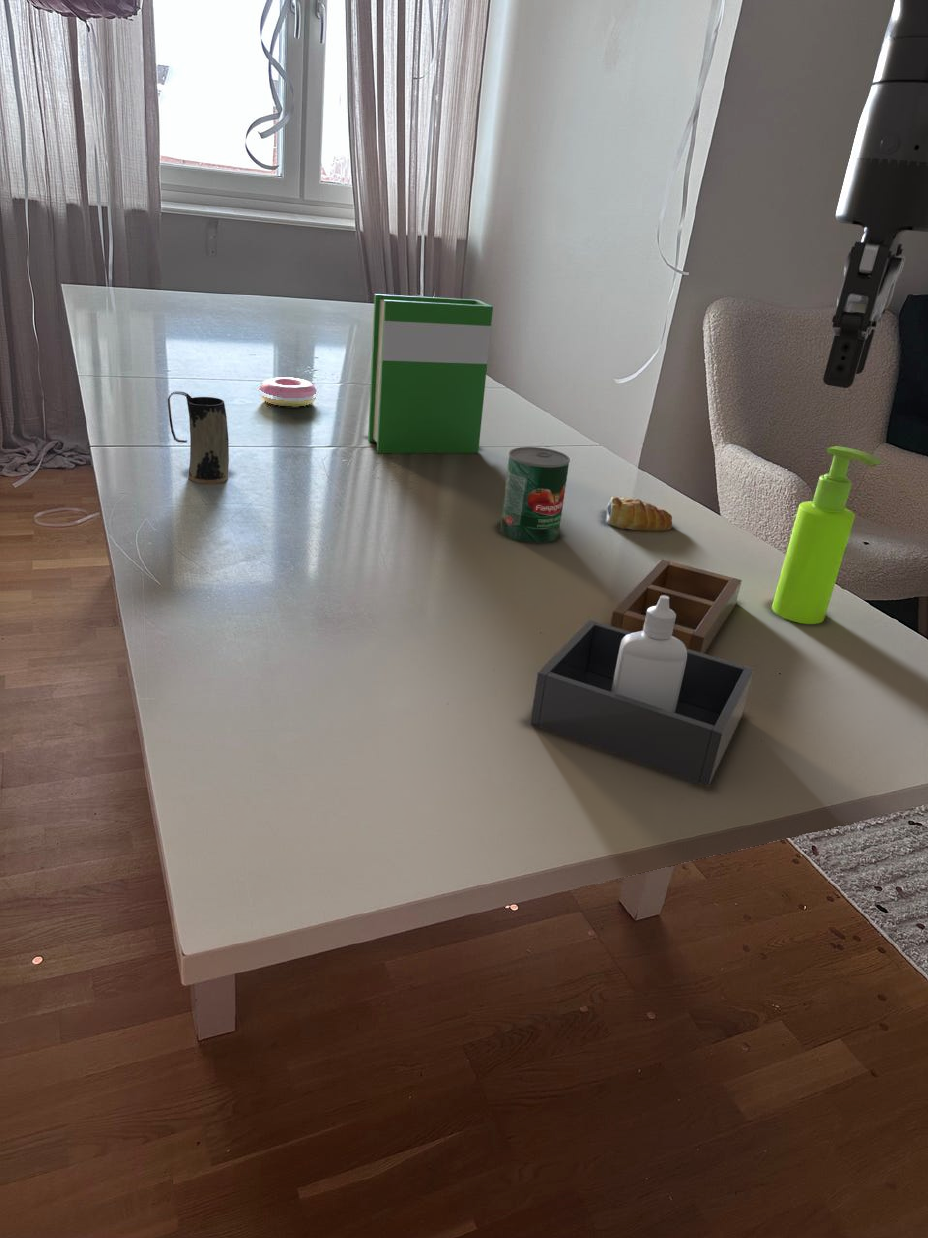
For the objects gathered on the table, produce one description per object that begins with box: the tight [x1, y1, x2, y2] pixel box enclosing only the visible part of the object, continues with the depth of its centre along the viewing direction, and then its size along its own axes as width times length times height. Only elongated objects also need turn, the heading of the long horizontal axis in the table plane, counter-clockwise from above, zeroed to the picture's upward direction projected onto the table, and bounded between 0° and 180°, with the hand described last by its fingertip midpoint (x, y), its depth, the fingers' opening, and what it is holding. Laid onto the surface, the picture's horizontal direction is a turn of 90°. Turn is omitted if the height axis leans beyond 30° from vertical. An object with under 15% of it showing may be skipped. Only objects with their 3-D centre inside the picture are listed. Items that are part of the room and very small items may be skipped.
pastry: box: [605, 496, 673, 532], centre depth 126 cm, size 9×7×4 cm
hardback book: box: [367, 293, 494, 454], centre depth 149 cm, size 18×7×24 cm, turn 108°
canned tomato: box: [500, 446, 571, 544], centre depth 117 cm, size 8×8×11 cm
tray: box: [609, 558, 742, 654], centre depth 99 cm, size 10×18×4 cm, turn 152°
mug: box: [167, 390, 230, 485], centre depth 126 cm, size 8×6×12 cm
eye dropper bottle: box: [611, 595, 687, 713], centre depth 76 cm, size 4×6×12 cm
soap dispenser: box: [771, 445, 884, 625], centre depth 99 cm, size 6×7×20 cm
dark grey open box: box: [529, 619, 755, 788], centre depth 78 cm, size 16×13×6 cm
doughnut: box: [259, 376, 318, 408], centre depth 172 cm, size 11×11×4 cm
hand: (843, 378), depth 74 cm, fingers open, 8 cm apart
